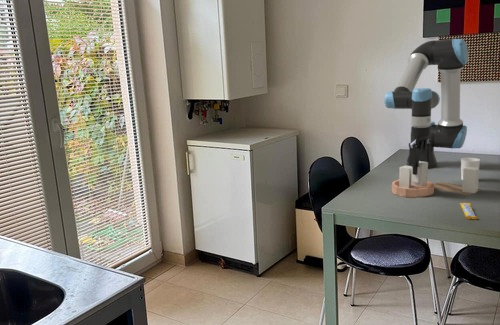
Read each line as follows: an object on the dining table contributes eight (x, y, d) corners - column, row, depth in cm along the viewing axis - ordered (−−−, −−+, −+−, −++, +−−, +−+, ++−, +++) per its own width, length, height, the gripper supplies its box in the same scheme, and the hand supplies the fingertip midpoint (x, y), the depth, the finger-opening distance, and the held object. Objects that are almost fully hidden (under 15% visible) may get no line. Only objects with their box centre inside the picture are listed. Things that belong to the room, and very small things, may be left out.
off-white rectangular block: (417, 183, 198) (417, 160, 195) (427, 185, 194) (428, 162, 192) (411, 185, 195) (411, 162, 193) (421, 187, 191) (422, 164, 189)
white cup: (480, 182, 206) (482, 161, 204) (462, 182, 208) (463, 161, 206) (476, 178, 214) (477, 157, 212) (458, 178, 215) (459, 157, 213)
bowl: (406, 184, 209) (407, 176, 208) (441, 191, 196) (442, 183, 195) (384, 192, 199) (384, 184, 198) (419, 200, 186) (419, 191, 185)
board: (440, 182, 209) (440, 181, 209) (482, 190, 195) (482, 189, 194) (425, 188, 202) (425, 187, 202) (468, 196, 188) (468, 195, 187)
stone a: (404, 187, 203) (405, 165, 201) (414, 189, 199) (415, 166, 197) (399, 189, 200) (399, 167, 198) (408, 191, 197) (409, 168, 194)
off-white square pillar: (465, 189, 196) (466, 166, 194) (477, 190, 193) (479, 167, 190) (462, 191, 193) (463, 168, 191) (474, 193, 190) (475, 170, 187)
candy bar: (478, 221, 162) (479, 216, 161) (465, 221, 163) (466, 216, 162) (470, 206, 177) (471, 202, 177) (459, 206, 178) (459, 201, 178)
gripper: (416, 129, 181) (415, 186, 186) (440, 124, 191) (438, 178, 196) (400, 128, 187) (399, 183, 192) (424, 122, 197) (422, 175, 202)
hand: (419, 180), depth 194 cm, fingers closed on off-white rectangular block, 4 cm apart
